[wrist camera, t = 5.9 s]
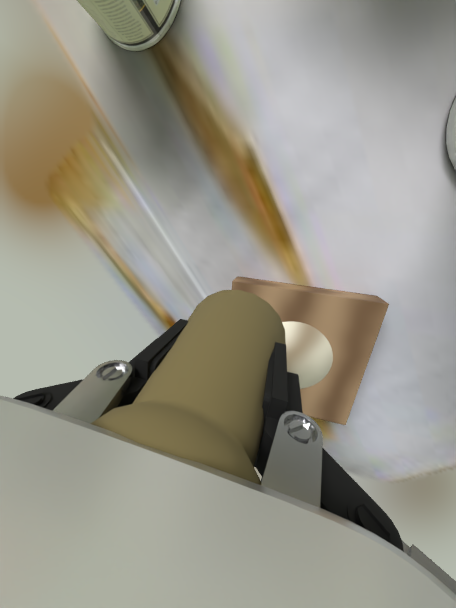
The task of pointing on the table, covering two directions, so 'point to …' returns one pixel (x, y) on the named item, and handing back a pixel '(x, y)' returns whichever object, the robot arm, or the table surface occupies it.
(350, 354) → the base
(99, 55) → the table surface
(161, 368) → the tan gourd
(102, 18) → the coffee can
